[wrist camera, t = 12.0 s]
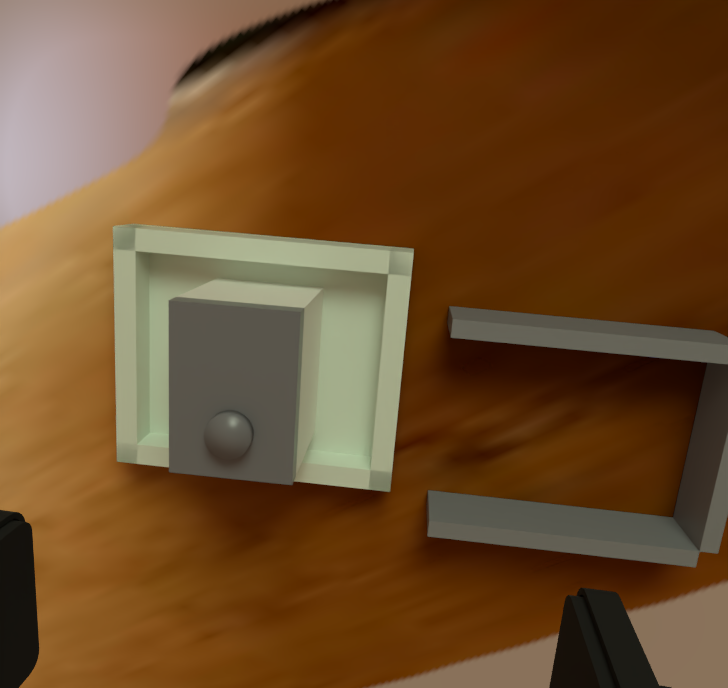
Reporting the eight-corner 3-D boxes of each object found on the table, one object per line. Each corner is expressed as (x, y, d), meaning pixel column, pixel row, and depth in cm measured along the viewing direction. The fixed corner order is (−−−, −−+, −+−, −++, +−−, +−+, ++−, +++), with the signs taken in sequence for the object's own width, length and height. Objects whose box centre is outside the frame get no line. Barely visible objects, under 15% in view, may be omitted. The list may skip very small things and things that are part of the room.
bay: (732, 332, 29) (768, 349, 26) (686, 533, 31) (713, 569, 28) (449, 306, 29) (452, 319, 26) (426, 504, 32) (427, 536, 29)
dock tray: (413, 248, 29) (413, 252, 27) (391, 473, 32) (389, 491, 30) (132, 223, 30) (113, 226, 28) (134, 445, 32) (116, 461, 30)
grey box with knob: (323, 287, 29) (297, 315, 23) (315, 429, 31) (289, 492, 24) (217, 278, 29) (162, 303, 23) (214, 419, 31) (163, 478, 25)
